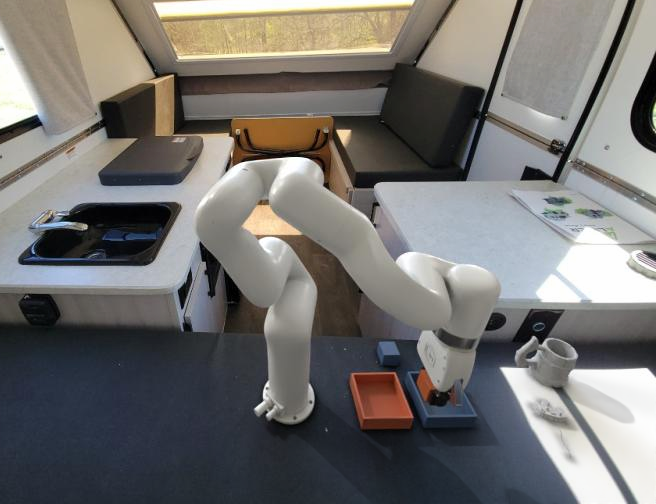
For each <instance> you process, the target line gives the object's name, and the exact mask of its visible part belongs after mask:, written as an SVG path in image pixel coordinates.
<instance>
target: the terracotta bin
mask: <svg viewBox="0 0 656 504" xmlns="http://www.w3.org/2000/svg"><path fill="white" fill-rule="evenodd" d="M349 386H350V390H351V393H352V397H353V398H352V399H353V402H354V406H355V409H356V414H357V417H358V421H359V425H360V429H361V430H398V429H399V430H400V429H401V430H405V429H407V430H409V429H411V428H412V425H413V421H414V419H415V418H414V415H413V412H412V410H411V408H410V405H409V402H408V400H407V398H406V395H405V393H404V390H403V387H402V384H401V383H400V380H399V378H398V375H397V372H393V371H391V372H389V371H388V372H386V371H385V372H351V373H350V378H349Z"/></svg>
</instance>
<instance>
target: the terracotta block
mask: <svg viewBox="0 0 656 504" xmlns="http://www.w3.org/2000/svg"><path fill="white" fill-rule="evenodd" d="M420 370H421V369H420ZM420 370H419V371H420ZM417 384H418V387H419V389H420V391H421V394H422V396H423V398H424V401H425V402H429V399H430V396H431V394H432V391H433V390H436V388H435V386H434V385H433V383H432V381H431V379H430V377H429V375H428V373H427V371H426V370H421V371H420V374H419V377H418V380H417Z"/></svg>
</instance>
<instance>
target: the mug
mask: <svg viewBox="0 0 656 504" xmlns="http://www.w3.org/2000/svg"><path fill="white" fill-rule="evenodd" d="M535 351H536V353H535V355H534V356H533V357H531V358H526V357H527V355H528V354H530V353H533V352H535ZM578 359H579V354H578V352H577V351H576V349H575V348H574V347H573V346H572V345H571V344H569V343H568V342H566V341H564V340H562V339H559V338H554V337H549V338H545V339H544V341H543V343H542V344H540V342H539V339H538V338H537V337H536V336H535V335H532V336H531V338H530V340H529V341H527V342H526V343H525V344H524V345H522V346H521V347H520V348H519V349H517V350H516V352H515V355H514V361H515V364H516V366H517V368H519V369H520V368H526V367H528V370H529V372H530V374H531V376H532V377H533V378H534V379H536V380H537V381H539V383H541V384H543V385H545V386H547V387H550V388H552V387H553V388H562V387H564V386H565V385H567V383H568V382H569V379H570V377H569V376H570V374H571V372H572V371H574V369H575V368H576V363H577V360H578Z"/></svg>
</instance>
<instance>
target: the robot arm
mask: <svg viewBox="0 0 656 504" xmlns="http://www.w3.org/2000/svg"><path fill="white" fill-rule="evenodd" d="M324 183H325V175H324V171H323V170H322V168H321V166H320V165H319V164H318V163H316V162H315V161H314V160H311V159H310V158H306V157H297V156H295V157H281V158H270V159H259V160H250V161H249V160H248V161H244V162H240V163H238V164H235V165H234V166H232V167H231V168H230V169H228V170H227V171H226V173H225V174H223V176H222V177H220V179H219V180H217V181H216V182H215V183H214V184H213V186H212V187H211V188H210V189H209V190H208V191H207V192H206V194H205V195H204V196H203V197H202V199H201V200H200V202H199V204H198V205H197V207H196V209H195V212H194V215H193V228H194V232H195V236H196V237H197V238H198V240H199V241H200V243H201V244H202V245H203V246H204V248H206V249H207V250H208V251H209V252H210V253H211V254H212V255H213V257H215V259H217V262H218V263H220V264H221V266H222V267H223V269H224V271H225V272H226V273H227V275H228V276H229V277H230V279H232V281H233V282H234V284H235V285H236V286H237V288H238V289H239V290H240V292H241V293H242V294H243V296H244V297H245V298H246V299H247V300H248V301H249V302H250V303H251V304H252V305H254V306H256V307H257V308H260V309H261V308H262V309H267V308H268V310H267V312H266V316H265V319H264V325H263V333H264V338H265V341H266V349H267V351H266V352H267V369H268V370H267V371H268V372H267V373H268V380H267V381H266V383H265V384H264V388H263V391H262V402H261V403H259V404H258V405H257V406H256V407H255V408H253V412H254V414H255V415H256V417H258V418H259V417H262V415H263V414H264V413H265V412H267V413H266V414H265V418H266V420H267V421H269V422H270V421H271V420H272V419H273V420H275V421H276V422H278V423H281V424H284V425H297V424H299V423H303V422H304V421H305V420H307V419H308V418H309V416H310V415H311V414H312V412H313V409H314V408H315V407H314V406H315V392H314V389H313V387H312V385H311V383H310V371H311V370H310V369H311V353H312V351H311V349H312V348H311V344H312V343H311V338H312V332H313V324H314V318H315V311H316V306H317V301H318V288H317V284H316V283H315V281H314V279H313V277H312V276H311V274H310V272H309V271H308V270H307V268H306V267H305V265H304V264H303V262H302V261H301V259H300V258H299V256H298V255H297V254H296V252H295V250H294V249H293V248H292V247H291V246H290V245H289V244H288V243H287V242H286V241H284V240H282V239H280V238H278V237H275V236H266V237H262V238H260V239H258V238H257V237H256V235H255V234H254V233H253V232H251V231H250V230H249V229H247V228H245V227H243V226H244V225H245V223H246V222H247V220H248V219H249V217H251V215H252V214H253V212H254V210H255V209H256V208H257V206H258V204H259V203H260V201H266V200H268V205H269V208H270V209H271V211H272V212H273V214H275V215H276V216H277V217H278V218H279V219H280V220H282V221H283V222H285V223H286V224H288V225H289V226H291V227H292V228H294V229H295V230H297V231H298V232H299V233H301V234H302V235H304V236H306V237H307V238H309V239H310V240H312V241H313V242H315V243H316V244H318V245H319V246H320V247H322V248H323V249H325V250H327V252H329V253H331V254H332V255H333V256H335V257H336V258H337V260H338V261H339V262H340V264H341V265H342V267H343V268H344V270H345V271H346V272H347V274H348V275H349V276H350V277H351V279H352V280H353V281H354V283H355V284H356V285H357V286H358V288H359V289H360V290H361V292H363V294H364V295H365V296H366V297H367V298H368V299H369V300H370V301H371V303H373V304H374V305H375V306H377V307H378V308H379V309H381V310H382V311H384V312H385V313H387V314H388V315H390V316H391V317H392V318H394V319H396V320H397V321H399V322H400V323H402V324H404V325H406V326H408V327H410V328H413V329H416V330H419V331H421V334H420V336H419V339H418V342H417V346H416V350H417V354H418V355H419V358H420V363H421V367H420V370H419V371H421V370H426V371H427V373H428V375H429V377H430V379H431V381H432V383H433V385H434V386H435V388H436V390H433V391H432V394H431V396H430V399H429V405H430V406H437V407H443V406H445V405H446V404H447V401H448V400H449V401H450V403H451V404H453V405H454V406H463V403H462V391H464V390H465V389H466V387H467V386H468V384H469V382H470V379H471V376H472V372H473V370H474V365H475V360H476V357H477V350H476V349H477V347H478V345H479V343H480V341H481V338H482V336H483V334H484V332H485V329H486V327H487V325H488V322H489V320H490V318H491V316H492V314H493V312H494V309H495V307H496V304H497V302H498V300H499V298H500V295H501V293H502V285H501V282H500V280H499V279H498V277H497V276H496V275H495V274H494V273H492V272H491V271H490V270H488V269H486V268H485V267H482V266H479V265H476V264H471V263H457V262H452V261H449V260H447V259H443V258H440V257H437V256H434V255H432V254H428V253H424V252H420V251H408V252H405V253H402V254H400V255H399V256H398V257H397V258H396V260H394V258H393V257H392V255H390V253H389V252H388V250H387V249H386V247H385V245H384V243H383V241H382V240H381V237H380V236H379V234H378V231H377V229H376V227H375V225H374V224H373V223H372V222H371V219H369V217H368V216H367V215H366V214H365V213H363V212H361V211H360V210H359V209H357V208H355V207H354V206H352V205H351V204H350V203H348V202H346V201H345V200H344V199H342V198H340V197H339V196H338V195H336V194H335V193H333V192H332V191H331V190H330V189H328V188H326V187H325V186H324ZM419 374H420V373H419ZM418 377H419V376H418Z"/></svg>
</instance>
